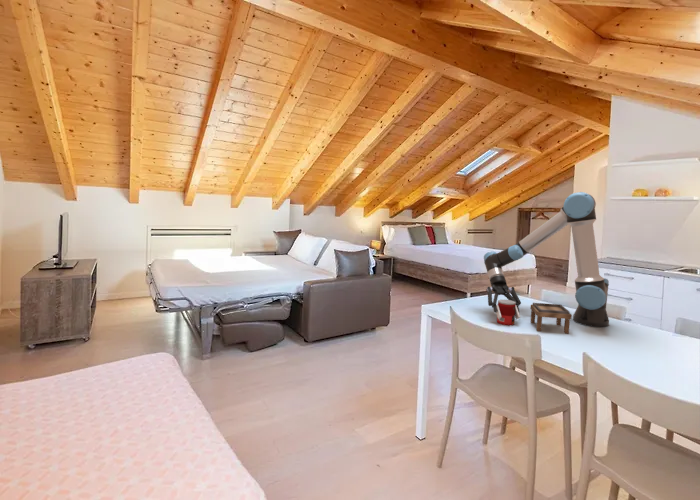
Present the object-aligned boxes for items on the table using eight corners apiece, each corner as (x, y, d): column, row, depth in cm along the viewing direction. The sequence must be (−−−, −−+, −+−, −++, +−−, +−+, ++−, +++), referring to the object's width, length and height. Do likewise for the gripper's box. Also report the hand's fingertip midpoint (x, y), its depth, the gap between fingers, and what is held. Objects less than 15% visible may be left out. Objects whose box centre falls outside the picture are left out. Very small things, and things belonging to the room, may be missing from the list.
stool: (560, 324, 183) (562, 304, 182) (569, 334, 170) (571, 312, 169) (529, 322, 187) (530, 302, 185) (536, 331, 173) (538, 309, 172)
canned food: (515, 326, 180) (517, 304, 179) (498, 325, 182) (499, 302, 180) (512, 321, 187) (513, 300, 186) (495, 320, 189) (496, 298, 188)
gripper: (514, 282, 198) (527, 321, 184) (474, 282, 197) (484, 321, 183) (519, 274, 192) (533, 314, 178) (479, 274, 191) (489, 314, 177)
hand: (508, 317), depth 181 cm, fingers open, 8 cm apart
